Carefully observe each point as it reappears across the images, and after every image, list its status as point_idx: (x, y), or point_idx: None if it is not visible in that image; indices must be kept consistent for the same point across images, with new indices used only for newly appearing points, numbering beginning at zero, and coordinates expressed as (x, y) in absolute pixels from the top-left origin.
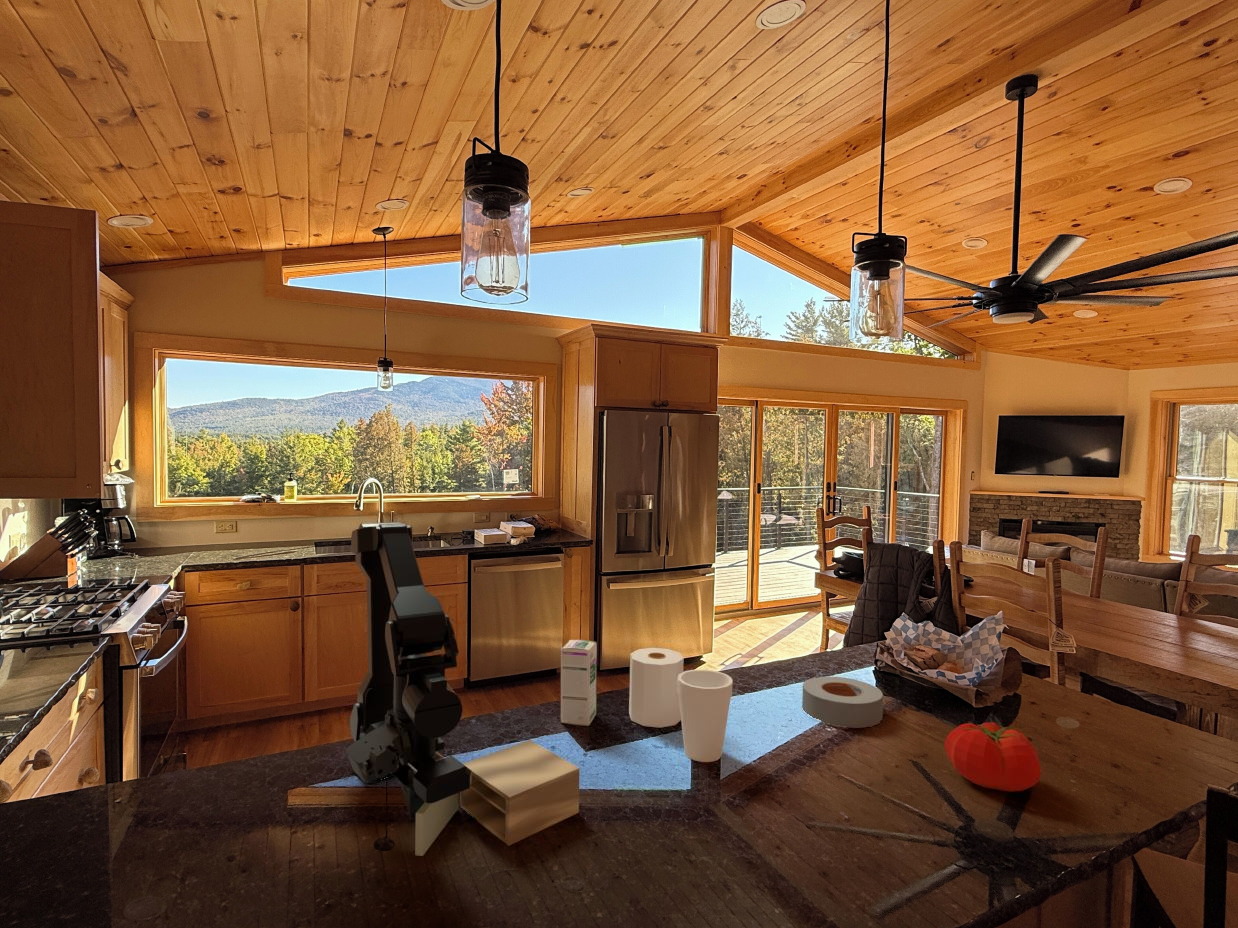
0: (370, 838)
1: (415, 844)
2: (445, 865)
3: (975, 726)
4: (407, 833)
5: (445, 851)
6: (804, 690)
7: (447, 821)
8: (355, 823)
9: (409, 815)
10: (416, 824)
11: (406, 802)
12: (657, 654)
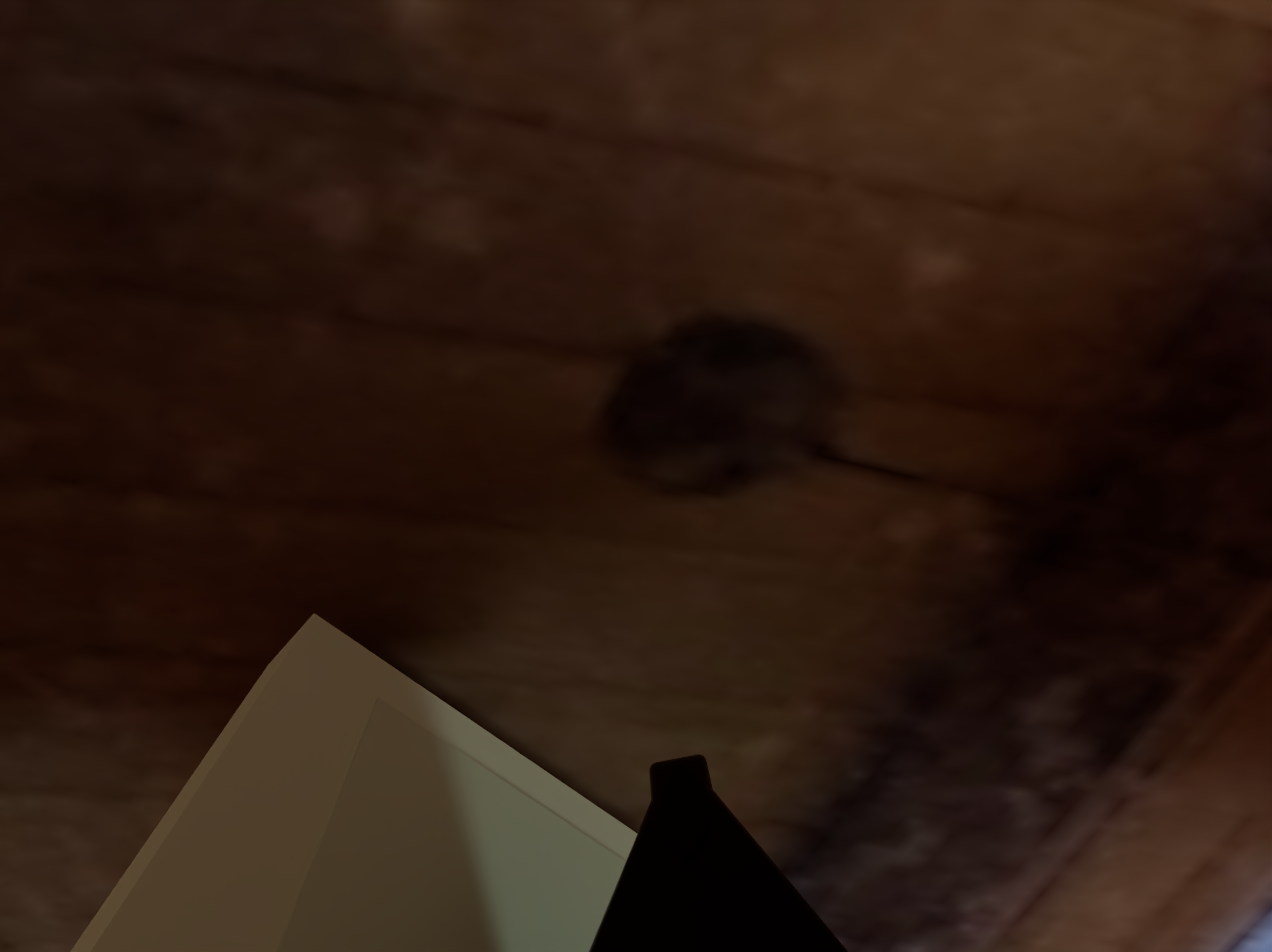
0: (885, 316)
1: (280, 670)
2: (132, 778)
3: None
4: (764, 622)
5: None
6: None
7: None
8: (1222, 246)
9: (686, 768)
10: (157, 857)
11: (738, 885)
12: None
